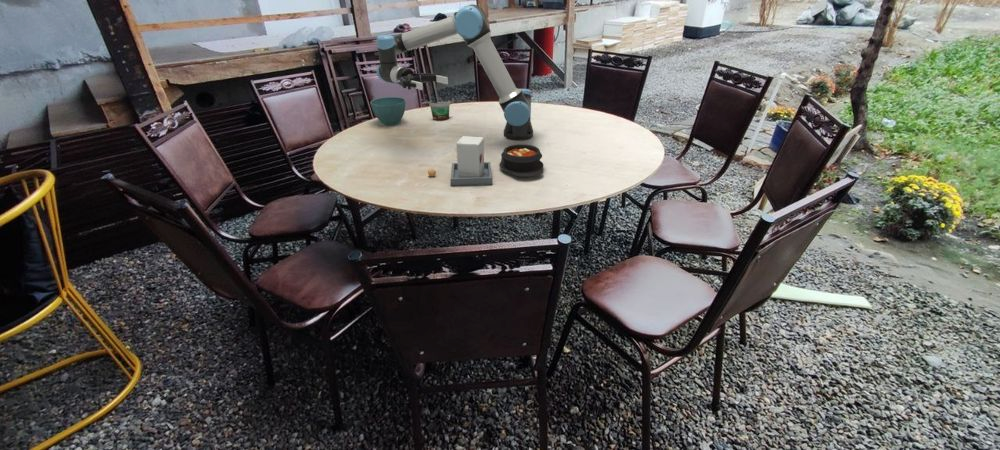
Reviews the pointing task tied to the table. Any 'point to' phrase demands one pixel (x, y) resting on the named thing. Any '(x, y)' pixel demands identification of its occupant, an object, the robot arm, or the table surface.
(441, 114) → the food container
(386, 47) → the robot arm
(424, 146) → the table surface
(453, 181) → the tray
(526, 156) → the casserole
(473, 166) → the supplement box
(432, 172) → the ball
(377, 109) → the plant pot
